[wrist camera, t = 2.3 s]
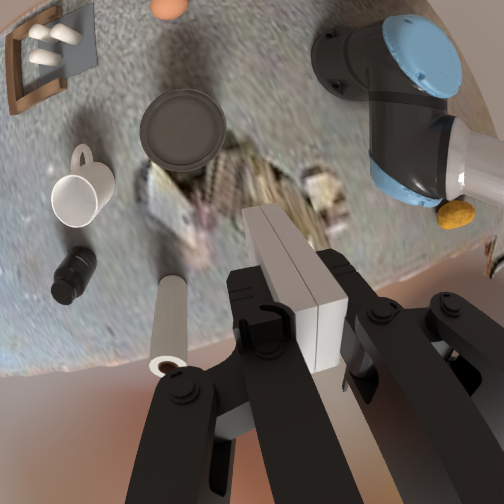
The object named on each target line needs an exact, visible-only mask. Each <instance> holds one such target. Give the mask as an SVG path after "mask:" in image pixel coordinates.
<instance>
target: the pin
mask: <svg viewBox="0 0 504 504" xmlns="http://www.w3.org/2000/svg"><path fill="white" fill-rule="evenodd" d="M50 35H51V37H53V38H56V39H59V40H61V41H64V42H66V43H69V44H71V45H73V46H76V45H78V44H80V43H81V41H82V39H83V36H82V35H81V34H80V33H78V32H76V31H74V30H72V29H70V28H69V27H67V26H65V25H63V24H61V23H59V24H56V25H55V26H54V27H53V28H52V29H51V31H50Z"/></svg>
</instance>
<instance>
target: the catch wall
mask: <svg viewBox="0 0 504 504" xmlns="http://www.w3.org/2000/svg"><path fill="white" fill-rule="evenodd" d="M60 17H62V9H61V8H59V7H57V6H56V5H55V6H53V7H52V8H50V9H48V10H46V11H44V12H42V13H41V14H39V15H37V16H36V17H34V18H32V19H31V20H29V21H27V22H26V23H24V24H23V25H21V26H20V27H18V28H17V29H15V30H14V31H12V32H11V33H9V34H8V35H6V42H5V63H6V83H7V95H8V104H9V111H10V116H11V115H17V114H20V113H22V112H23V111H25V110H27V109H28V108H30V107H32V106H34V105H36V104H37V103H39V102H41V101H43V100H45V99H47V98H49V97H51V96H53V95H55V94H57V93H59V92H61V91H63V90H66V89H67V84H66V79H62V78H57V79H55V80H53V81H51V82H49V83H48V84H46V85H44V86H42V87H40V88H38V89H36V90H35V91H33V92H31V93H29V94H28V95H26V96H24V93H23V83H22V70H21V40H23V39H24V38H26V37H27V36H29V30H30V28H31V27H32V26H33V25H35V24H40V25H43V26H45V25H47V24H49V23H51V22H53V21H55V20H56V19H58V18H60Z"/></svg>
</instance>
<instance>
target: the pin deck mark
mask: <svg viewBox="0 0 504 504" xmlns="http://www.w3.org/2000/svg"><path fill="white" fill-rule="evenodd" d="M59 23H61V24H63V25H65V26H67V27H69V28H70V29H72V30H74V31H76V32H78V33H80V34H81V35H82V36H83V39H82V41H81V43H80V44H78V45H76V46H73V45H71V44H69V43H66V42H64V41H61V40H60V41H59V42H58V43H56V44H51V43H48V42H45V41H42V40H39V39H38V48H39V49H43V50H46V51H50V52H53V53H57V54H60V55H62V56H63V61H62V63H61V64H60V65H59V66H57V67H54V66H49V65H44V64H39V73H40V83H41V87H42V86H44V85H46V84H48V83H49V82H51V81H53V80H55V79H57V78H62V79H67V78H69V77H71V76H74V75H76V74H78V73H81V72H83V71H85V70H88V69H90V68H93V67H96V66H98V62H97V52H96V41H95V27H94V3H91V4H89V5H86V6H84V7H82V8H80V9H77V10H75V11H73V12H71V13H69V14H67V15H64V16H62V17H60V18H58V19H56V20H55V21H53V22H51V23H49V24H47V25H45V27H47V28H50V29H52V28H53V27H54V26H55V25H56V24H59Z"/></svg>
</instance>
